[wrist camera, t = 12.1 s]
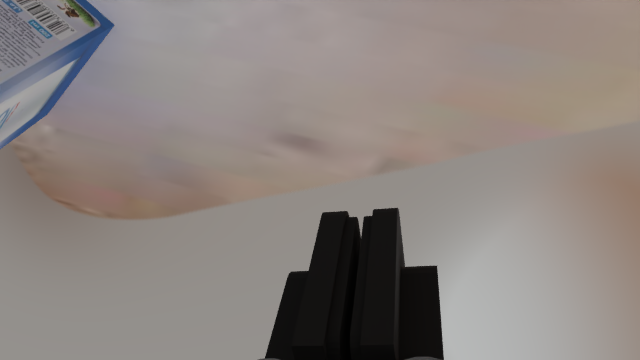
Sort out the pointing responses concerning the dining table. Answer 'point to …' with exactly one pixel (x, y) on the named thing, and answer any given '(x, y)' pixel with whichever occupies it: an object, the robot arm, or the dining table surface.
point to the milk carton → (42, 56)
